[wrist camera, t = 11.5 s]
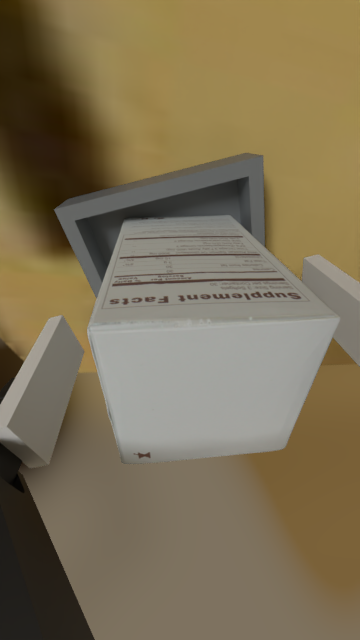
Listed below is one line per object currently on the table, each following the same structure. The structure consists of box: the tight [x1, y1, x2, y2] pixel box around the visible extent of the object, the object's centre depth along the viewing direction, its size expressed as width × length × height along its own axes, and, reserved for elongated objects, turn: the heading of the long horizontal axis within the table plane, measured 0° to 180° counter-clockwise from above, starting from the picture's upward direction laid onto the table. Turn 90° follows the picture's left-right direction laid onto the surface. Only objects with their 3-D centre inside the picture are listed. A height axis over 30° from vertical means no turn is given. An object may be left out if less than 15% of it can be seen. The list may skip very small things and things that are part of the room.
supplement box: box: [87, 215, 341, 464], centre depth 14 cm, size 7×7×13 cm
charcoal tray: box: [54, 153, 265, 298], centre depth 18 cm, size 12×12×3 cm
